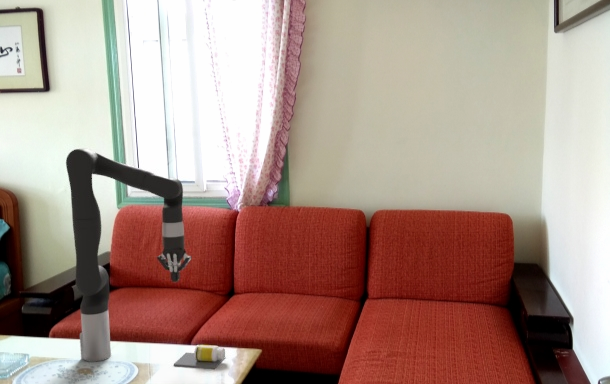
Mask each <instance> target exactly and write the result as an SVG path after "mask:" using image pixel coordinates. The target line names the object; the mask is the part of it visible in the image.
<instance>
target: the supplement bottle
mask: <svg viewBox="0 0 610 384" xmlns="http://www.w3.org/2000/svg"><path fill="white" fill-rule="evenodd" d="M193 353H194V357H195V360H197V361H212V362H215V361H217V360H222V361H224V360H225V358H226V350H225V347H220V348H219V346H218V345H210V344H197V345H196V346H195V348H194V352H193ZM224 357H225V358H224Z"/></svg>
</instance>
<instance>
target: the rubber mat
mask: <svg viewBox="0 0 610 384" xmlns="http://www.w3.org/2000/svg"><path fill="white" fill-rule="evenodd" d="M222 361H223V360H217V361H215V362H212V361H197V360H195V357H194V352H185V353H184V354H183V355H182V356H181V357H180V358H178V360H176V361H175V362H174V363H173V366H174V367H185V368H196V369H208V370H209V369H210V370H215V369H216V368H217V367H218V366H219V364H220V363H222Z"/></svg>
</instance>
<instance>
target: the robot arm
mask: <svg viewBox="0 0 610 384" xmlns="http://www.w3.org/2000/svg"><path fill="white" fill-rule="evenodd" d="M65 160H66V161H65V166H66V172H67V176H68V182H69V187H70V199H71V203H70V204H71V216H72V217H71V218H72V227H73V228H72V229H73V230H72V231H73V237H74V238H73V239H74V247H75V248H74V250H75V287H76V289H77V290H78V292H80V294H82V300H81V303H80V317H81V320H80V321H81V332H80V333H79V343H80V346H79V347H80V359H82V360H84V361H86V362H90V363H93V362H100V361H103V360H106V359H108V358H110V357H111V356H112V350H111V349H112V348H111V334H110V333H111V331H110V318H109V300H110V278H109V277H110V276H109V273H108V271H107V269H106V268H104V267H103V266H102V265H99V258H98V257H99V256H98V255H99V249H100V247H99V246H100V244H101V243H100V242H101V239H102V238H101V237H102V216H101V215H102V214H101V211H100V210H101V209H100V207H99V204H98V201H97V199H96V196H95V193H94V189H93V175H96V176H103V177H107V178H110V179H113V180H115V181H117V182H119V183H121V184H124V185H126V186H129V187H131V188H134V189H137V190H142V191H144V192H148V193H151V194H153V195H155V196H157V197H161V198H163V206H162V210H161V213H162V214H161V215H162V216H161V219H162V228H161V235H162V248H163V249H162V253H161V254H160V255H158V256H156V259H157V261H158V262H159V263H160V264H161V266H162V267H163V269H165V271H169V272H170V280H171V281H172V283H177V282H179V280H180V279H181V277H180V276H181V274H180V272H181V271H183V270H184V269H185V268H186V267H187V266H188V264H189V263H190V261H191V260H192V258H193V257H192V255H188V254H187V251H186V249H185V226H184V219H183V217H184V216H183V200H184V199H183V198H184V197H183V196H184V188H183V184H182V183H183V182H181V181H180V180H179V179H178V178H175V177H168V178H167V177H163V176H159V175H157V174H156V173H154V172H152V171H150V170H146V169H142V168H141V167H140V168H139V167H136V166H133V165H129V164H125V163H121V162H118V161H117V160H116V161H115V160H114V159H112V158H111V159H110V158H108V157H106V156H104V155H102V154H100V153H99V152H95V151H93V150H92V149H90V148H77V149H73V150H71V151H70V152H68V155H67V157H66V159H65ZM182 260H183V261H182Z"/></svg>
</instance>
